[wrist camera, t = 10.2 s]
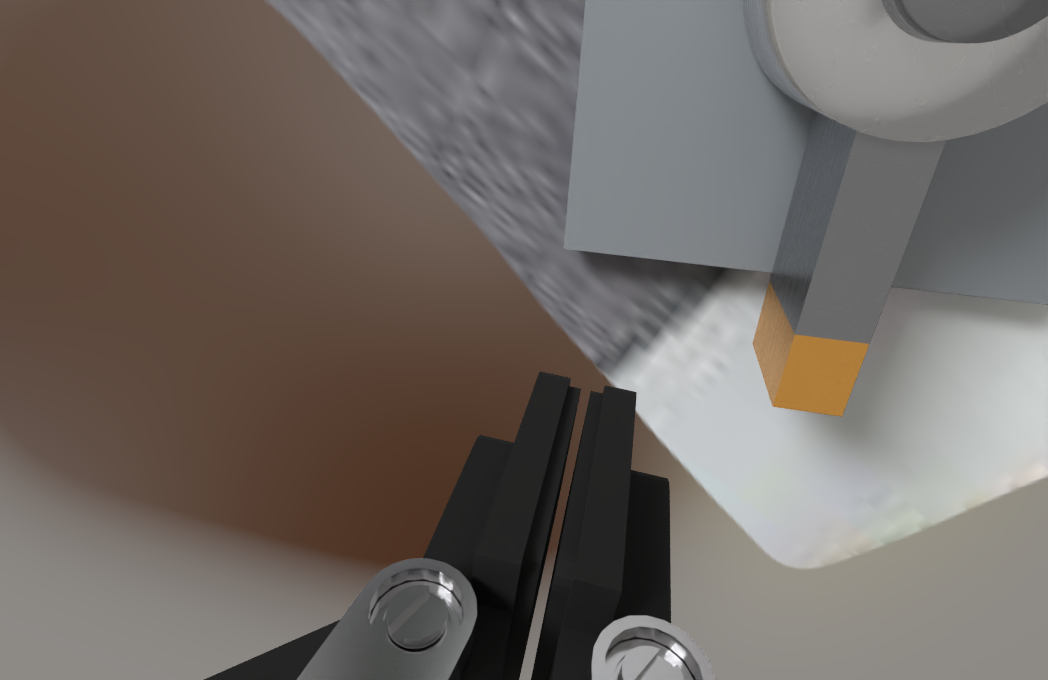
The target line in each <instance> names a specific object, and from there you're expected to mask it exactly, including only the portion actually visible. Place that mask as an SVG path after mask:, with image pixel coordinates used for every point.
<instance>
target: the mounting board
mask: <svg viewBox="0 0 1048 680" xmlns="http://www.w3.org/2000/svg"><path fill="white" fill-rule="evenodd" d="M814 113H815V111H814V110H812V109H810V108H808V107H806V106H804V105H802V104H800V103H798V102H796V101H794V100H793V99H791V98H790V97H788V96H787V95H785V94H784V93H783V92H782V91H781V90H780V89H778V88H777V87H776V86H775V85H774V84H773V83H772V82H771V80H770V79H769V78H768V77H767V75H766V74H765V73H764V72H763V70H762V68H761V67H760V65H759V63H758V62H757V60H756V58H755V56H754V53H753V51H752V48H751V46H750V43H749V40H748V36H747V32H746V28H745V22H744V12H743V0H586V1H585V12H584V23H583V35H582V46H581V57H580V68H579V80H578V91H577V102H576V114H575V125H574V136H573V147H572V159H571V170H570V181H569V192H568V204H567V215H566V226H565V237H564V249H570V250H578V251H587V252H596V253H604V254H613V255H622V256H630V257H639V258H648V259H656V260H665V261H674V262H682V263H691V264H700V265H708V266H717V267H726V268H734V269H743V270H752V271H760V272H769V273H772V270H773V266H774V262H775V258H776V255H777V251H778V247H779V244H780V240H781V236H782V232H783V229H784V225H785V221H786V218H787V214H788V210H789V206H790V203H791V199H792V195H793V192H794V188H795V184H796V180H797V177H798V173H799V169H800V166H801V162H802V158H803V154H804V151H805V147H806V143H807V139H808V136H809V132H810V128H811V125H812V121H813V117H814ZM891 287H899V288H908V289H916V290H925V291H934V292H942V293H951V294H960V295H968V296H977V297H986V298H994V299H1003V300H1012V301H1020V302H1029V303H1038V304H1046V305H1048V102H1047V103H1045V104H1043V105H1041V106H1040V107H1038V108H1036V109H1034V110H1033V111H1031V112H1029V113H1027V114H1025V115H1023V116H1021V117H1019V118H1016V119H1014V120H1012V121H1010V122H1008V123H1005V124H1003V125H1001V126H998V127H995V128H992V129H989V130H986V131H983V132H980V133H977V134H973V135H969V136H964V137H960V138H955V139H951V140H946V142H945V145H944V148H943V150H942V153H941V156H940V158H939V161H938V164H937V166H936V169H935V172H934V174H933V177H932V180H931V182H930V185H929V187H928V190H927V193H926V195H925V198H924V201H923V203H922V206H921V209H920V211H919V214H918V217H917V219H916V222H915V225H914V227H913V230H912V232H911V235H910V238H909V240H908V243H907V246H906V248H905V251H904V254H903V256H902V259H901V262H900V264H899V267H898V270H897V272H896V275H895V277H894V280H893V283H892V285H891Z"/></svg>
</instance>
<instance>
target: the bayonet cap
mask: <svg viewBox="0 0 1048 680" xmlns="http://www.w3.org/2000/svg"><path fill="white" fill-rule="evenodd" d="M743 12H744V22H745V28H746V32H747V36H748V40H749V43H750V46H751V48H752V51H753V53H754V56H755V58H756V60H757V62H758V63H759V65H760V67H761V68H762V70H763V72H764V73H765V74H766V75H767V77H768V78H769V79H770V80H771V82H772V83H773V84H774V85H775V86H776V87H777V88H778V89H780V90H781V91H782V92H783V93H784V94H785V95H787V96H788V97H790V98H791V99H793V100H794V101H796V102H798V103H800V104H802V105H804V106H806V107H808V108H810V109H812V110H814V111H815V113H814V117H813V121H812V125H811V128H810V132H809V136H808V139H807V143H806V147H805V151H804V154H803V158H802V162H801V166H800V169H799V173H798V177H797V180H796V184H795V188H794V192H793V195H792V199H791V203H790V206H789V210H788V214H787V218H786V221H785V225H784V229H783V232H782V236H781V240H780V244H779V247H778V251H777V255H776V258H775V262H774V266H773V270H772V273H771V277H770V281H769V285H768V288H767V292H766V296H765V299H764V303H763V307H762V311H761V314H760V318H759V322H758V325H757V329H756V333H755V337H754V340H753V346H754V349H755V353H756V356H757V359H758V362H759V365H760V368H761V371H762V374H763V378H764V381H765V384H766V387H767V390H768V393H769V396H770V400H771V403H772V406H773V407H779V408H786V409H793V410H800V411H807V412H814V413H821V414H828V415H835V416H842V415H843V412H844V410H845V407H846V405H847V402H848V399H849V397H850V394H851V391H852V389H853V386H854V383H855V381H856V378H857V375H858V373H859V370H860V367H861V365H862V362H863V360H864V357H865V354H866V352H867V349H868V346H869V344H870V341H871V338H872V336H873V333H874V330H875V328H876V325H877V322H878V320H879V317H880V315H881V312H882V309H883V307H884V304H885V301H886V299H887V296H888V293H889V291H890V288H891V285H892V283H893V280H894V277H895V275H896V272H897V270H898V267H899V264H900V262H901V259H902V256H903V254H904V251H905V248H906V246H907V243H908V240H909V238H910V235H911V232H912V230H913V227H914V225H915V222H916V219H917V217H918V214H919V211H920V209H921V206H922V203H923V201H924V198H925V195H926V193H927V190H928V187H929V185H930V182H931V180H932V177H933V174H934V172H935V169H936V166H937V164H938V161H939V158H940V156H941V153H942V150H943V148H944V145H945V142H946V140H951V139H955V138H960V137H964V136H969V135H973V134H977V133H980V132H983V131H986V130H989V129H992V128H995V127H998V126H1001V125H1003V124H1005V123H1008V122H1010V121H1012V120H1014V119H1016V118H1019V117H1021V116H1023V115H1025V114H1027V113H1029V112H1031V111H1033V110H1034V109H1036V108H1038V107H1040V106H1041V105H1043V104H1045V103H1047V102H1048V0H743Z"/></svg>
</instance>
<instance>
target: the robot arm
mask: <svg viewBox="0 0 1048 680" xmlns="http://www.w3.org/2000/svg"><path fill="white" fill-rule="evenodd" d="M569 385H570V378H568V377H563V376H559V375H554V374H550V373H545V372H539V375H538V377H537V380H536V383H535V386H534V389H533V392H532V394H531V397H530V400H529V403H528V405H527V408H526V411H525V414H524V417H523V420H522V422H521V425H520V428H519V431H518V434H517V436H516V439H515V442H514V443H512V442H508V441H504V440H499V439H495V438H491V437H486V436H482V435H480V436H479V437H478V438H477V440H476V441H475V444H474V446H473V448H472V450H471V453H470V455H469V457H468V459H467V461H466V464H465V466H464V468H463V470H462V472H461V475H460V477H459V479H458V481H457V483H456V486H455V488H454V490H453V493H452V495H451V497H450V499H449V501H448V503H447V506H446V508H445V510H444V512H443V515H442V517H441V519H440V521H439V524H438V526H437V528H436V530H435V533H434V535H433V537H432V539H431V541H430V544H429V546H428V548H427V550H426V552H425V555H424V557H423V558H420V559H408V560H404V561H401V562H397V563H394V564H392V565H390V566H388V567H387V568H385V569H383V570H382V571H380V572H378V573H377V574H376V575H375V576H374V577H373V578H372V579H371V580H370V581H369V582H368V583H367V584H366V586H365V587H364V588H363V590H362V591H361V592H360V594H359V595H358V597H357V598H356V599H355V601H354V602H353V603H352V605H351V606H350V607H349V609H348V610H347V612H346V613H345V614H344V616H343V617H342V618H341V620H338V621H336V622H334V623H332V624H329V625H328V626H325V627H323V628H320V629H318V630H316V631H314V632H311V633H309V634H307V635H304V636H302V637H300V638H298V639H295V640H293V641H291V642H289V643H286V644H284V645H282V646H279V647H277V648H275V649H273V650H270V651H268V652H266V653H264V654H262V655H259V656H257V657H254V658H252V659H250V660H248V661H245V662H243V663H241V664H239V665H236V666H234V667H232V668H230V669H227V670H225V671H223V672H220V673H218V674H216V675H214V676H211V677H209V678H207V679H205V680H519V677H520V673H521V668H522V664H523V659H524V654H525V650H526V645H527V641H528V636H529V632H530V627H531V623H532V618H533V614H534V609H535V605H536V600H537V596H538V591H539V587H540V582H541V578H542V573H543V569H544V564H545V559H546V555H547V551H548V546H549V542H550V537H551V532H552V528H553V523H554V518H555V514H556V509H557V504H558V500H559V495H560V490H561V485H562V480H563V475H564V470H565V465H566V460H567V455H568V451H569V446H570V440H571V435H572V431H573V426H574V421H575V416H576V411H577V406H578V401H579V396H580V391H581V389H580V388H574V387H570V386H569ZM635 407H636V392H633V391H628V390H624V389H619V388H615V387H610V386H605V387H604V391H603V393H598V392H593V391H591V393H590V398H589V402H588V407H587V412H586V416H585V421H584V426H583V430H582V435H581V440H580V444H579V449H578V454H577V459H576V463H575V468H574V472H573V477H572V482H571V486H570V491H569V496H568V501H567V505H566V510H565V515H564V520H563V524H562V530H561V534H560V539H559V544H558V549H557V554H556V559H555V564H554V569H553V574H552V579H551V584H550V589H549V594H548V599H547V603H546V608H545V614H544V619H543V623H542V628H541V633H540V638H539V643H538V648H537V653H536V658H535V663H534V668H533V673H532V678H531V680H716V677H715V675H714V672H713V669H712V667H711V664H710V661H709V660H708V659H707V657H706V656H705V654H704V653H703V651H702V650H701V648H700V647H699V646H698V644H697V643H696V642H695V641H694V640H692V639H691V638H690V637H689V636H688V635H687V634H686V633H685V632H684V631H682V630H681V629H679V628H678V627H676V626H674V625H672V624H671V590H670V589H671V588H670V499H669V498H670V496H669V494H670V492H669V481H668V479H667V478H663V477H658V476H654V475H650V474H645V473H642V472H637V471H633V470H631V459H632V447H633V434H634V419H635Z"/></svg>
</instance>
